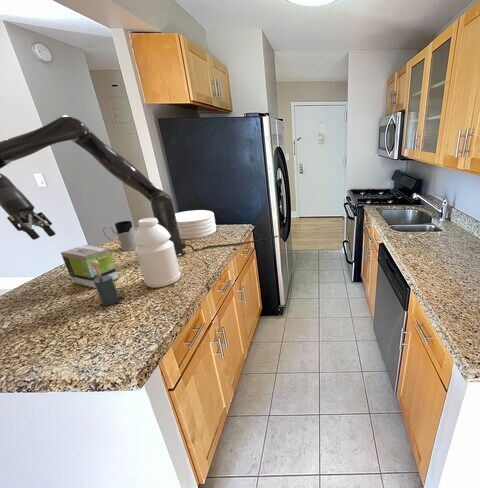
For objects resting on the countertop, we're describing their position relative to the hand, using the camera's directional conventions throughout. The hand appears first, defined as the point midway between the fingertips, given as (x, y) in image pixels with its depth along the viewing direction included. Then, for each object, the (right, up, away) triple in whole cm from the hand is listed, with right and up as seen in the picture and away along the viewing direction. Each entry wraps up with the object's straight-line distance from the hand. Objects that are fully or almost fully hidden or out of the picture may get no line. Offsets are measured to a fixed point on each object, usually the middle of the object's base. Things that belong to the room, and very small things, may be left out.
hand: (45, 237), depth 105 cm
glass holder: (-2, -5, +45) cm, 45 cm away
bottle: (+41, -19, +11) cm, 47 cm away
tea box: (+11, -19, +11) cm, 25 cm away
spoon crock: (+30, -25, -5) cm, 40 cm away
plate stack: (+24, +5, +72) cm, 76 cm away
